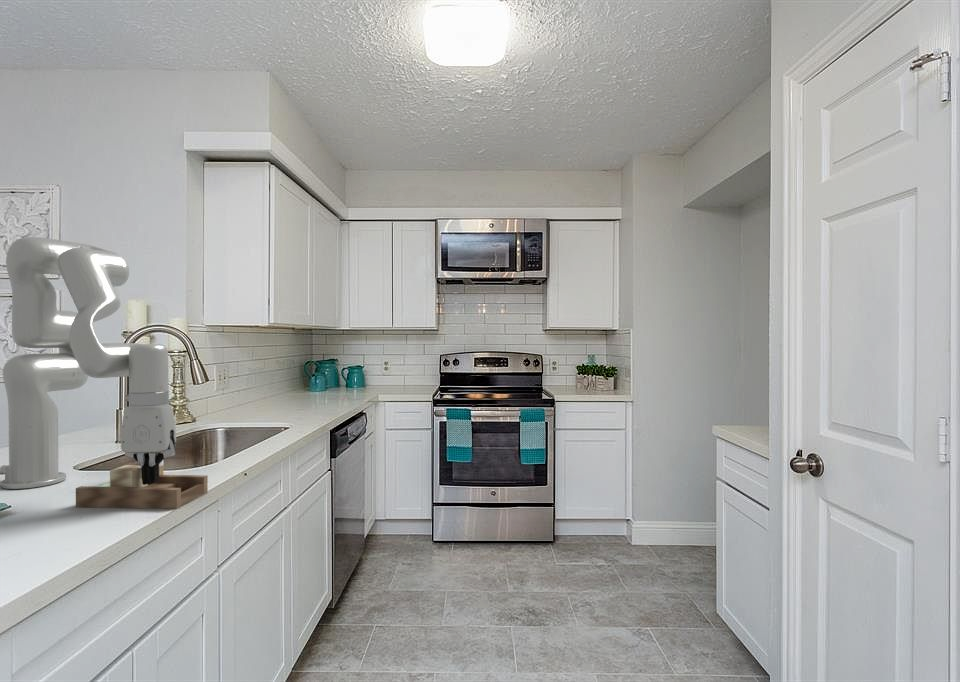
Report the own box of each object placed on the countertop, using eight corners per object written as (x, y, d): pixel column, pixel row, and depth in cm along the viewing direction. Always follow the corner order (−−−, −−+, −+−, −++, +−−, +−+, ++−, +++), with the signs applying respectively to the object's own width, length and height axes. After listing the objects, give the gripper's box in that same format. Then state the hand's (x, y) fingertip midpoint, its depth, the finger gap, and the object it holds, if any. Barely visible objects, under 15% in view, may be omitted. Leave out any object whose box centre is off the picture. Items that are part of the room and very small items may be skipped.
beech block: (110, 491, 122) (109, 470, 122) (126, 485, 127) (125, 465, 127) (132, 491, 121) (132, 470, 121) (147, 485, 126) (147, 465, 126)
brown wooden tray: (75, 507, 119) (75, 488, 118) (115, 491, 131) (115, 474, 130) (176, 508, 117) (176, 489, 117) (207, 492, 129) (207, 475, 129)
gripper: (104, 402, 120) (105, 487, 120) (172, 401, 120) (173, 487, 120) (127, 398, 128) (129, 478, 128) (191, 398, 127) (193, 478, 127)
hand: (150, 482), depth 124 cm, fingers closed
